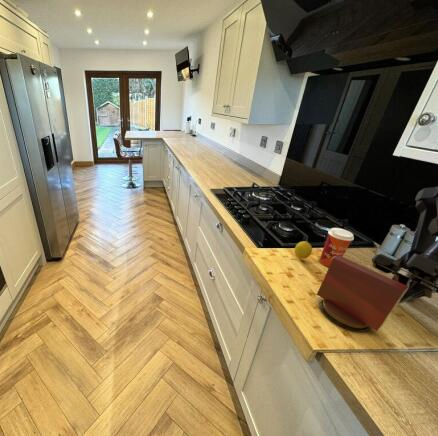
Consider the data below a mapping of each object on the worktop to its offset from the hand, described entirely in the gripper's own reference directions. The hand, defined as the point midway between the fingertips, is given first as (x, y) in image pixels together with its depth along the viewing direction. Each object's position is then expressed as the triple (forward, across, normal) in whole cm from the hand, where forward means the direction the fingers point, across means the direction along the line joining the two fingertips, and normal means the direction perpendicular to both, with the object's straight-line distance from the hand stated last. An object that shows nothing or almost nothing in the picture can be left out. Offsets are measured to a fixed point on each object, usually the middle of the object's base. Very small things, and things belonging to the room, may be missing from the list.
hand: (393, 303), depth 62 cm
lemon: (0, -31, +13) cm, 33 cm away
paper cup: (-6, -24, +18) cm, 31 cm away
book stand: (+10, -6, +3) cm, 12 cm away
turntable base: (+10, -6, +3) cm, 12 cm away
